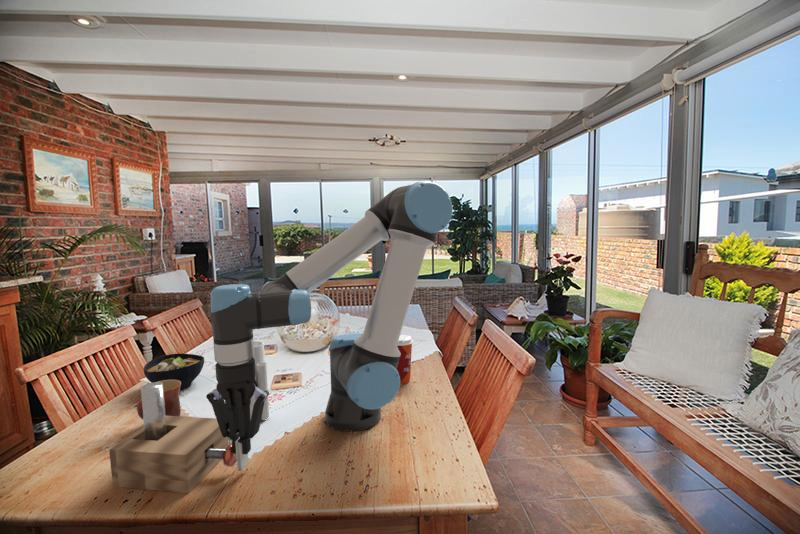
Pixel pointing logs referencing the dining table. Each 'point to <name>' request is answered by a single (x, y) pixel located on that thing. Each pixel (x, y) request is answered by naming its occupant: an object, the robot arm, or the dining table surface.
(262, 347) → the vase
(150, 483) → the dock
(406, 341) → the coffee cup
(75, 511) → the dining table surface
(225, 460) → the lock pin
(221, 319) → the robot arm
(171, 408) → the mug
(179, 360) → the bowl
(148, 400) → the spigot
